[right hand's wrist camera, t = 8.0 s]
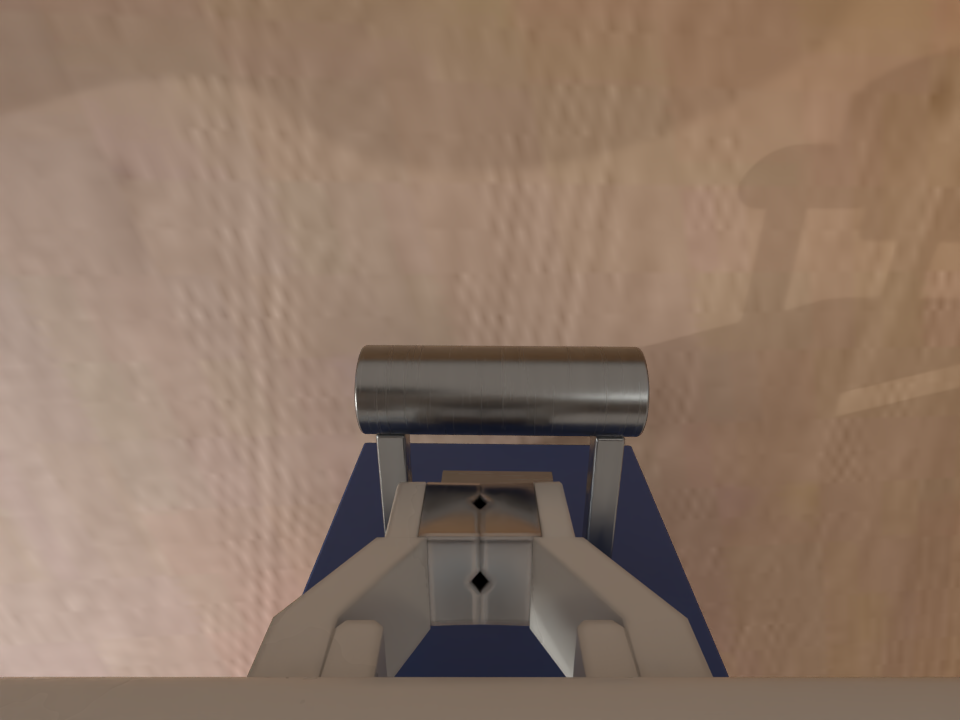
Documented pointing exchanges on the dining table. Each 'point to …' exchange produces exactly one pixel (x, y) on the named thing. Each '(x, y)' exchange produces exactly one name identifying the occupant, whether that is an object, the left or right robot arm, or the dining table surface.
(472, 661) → the drawer
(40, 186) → the dining table surface
